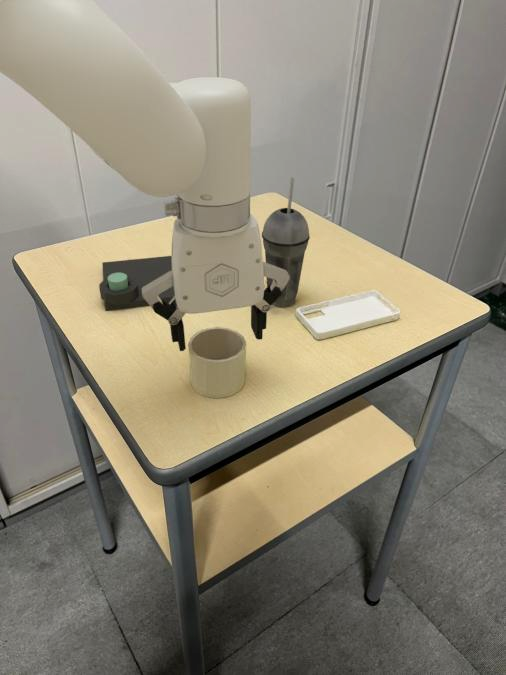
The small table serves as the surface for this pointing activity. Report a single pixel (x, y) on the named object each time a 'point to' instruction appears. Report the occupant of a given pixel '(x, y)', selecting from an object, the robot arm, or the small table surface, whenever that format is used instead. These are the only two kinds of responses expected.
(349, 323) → the phone case
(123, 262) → the scale
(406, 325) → the small table surface
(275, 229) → the beverage cup
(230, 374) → the beige cup
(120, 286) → the button
